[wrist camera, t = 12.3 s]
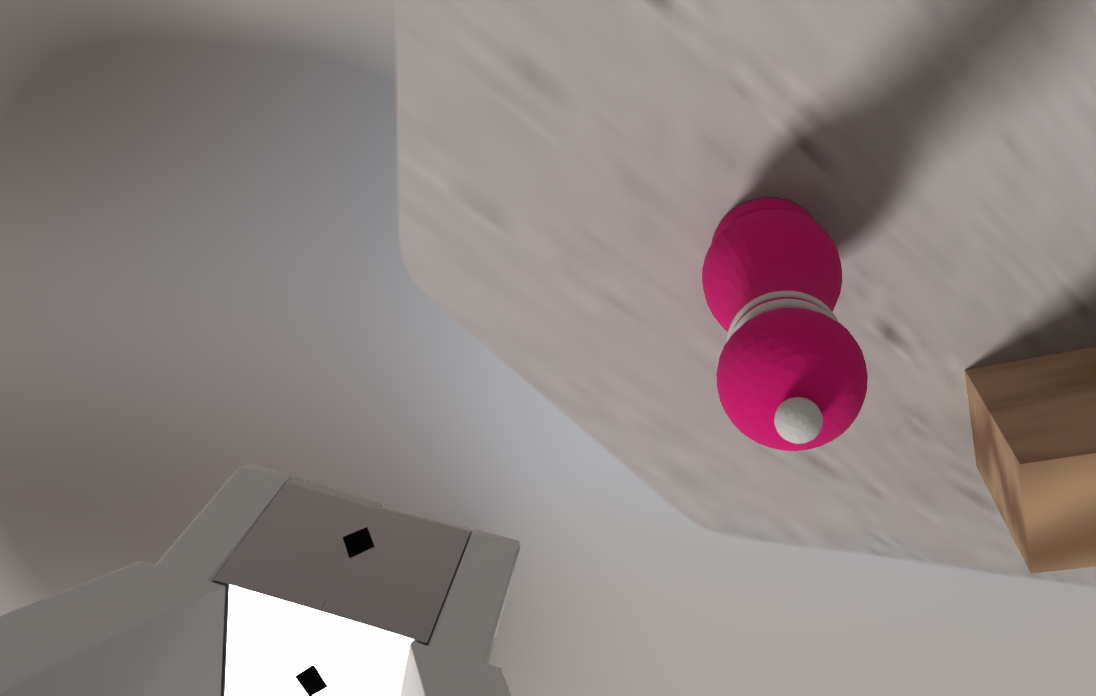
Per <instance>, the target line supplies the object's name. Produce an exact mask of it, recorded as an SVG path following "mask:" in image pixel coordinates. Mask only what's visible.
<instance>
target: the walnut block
mask: <svg viewBox="0 0 1096 696" xmlns="http://www.w3.org/2000/svg"><path fill="white" fill-rule="evenodd" d="M965 376H966V384H967V393H968V401H969V409H970V417H971V425H972V433H973V441H974V449H975V457H976V465H977V468H978V470H979V472H980V474H981V476H982V478H983V480H984V482H985V484H986V486H987V488H988V490H989V492H990V493H991V495H992V497H993V499H994V501H995V503H996V505H997V507H998V509H999V511H1000V513H1001V515H1002V517H1003V519H1004V521H1005V523H1006V525H1007V527H1008V529H1009V531H1010V533H1011V535H1012V537H1013V539H1014V541H1015V543H1016V545H1017V547H1018V549H1019V551H1020V553H1021V555H1022V557H1023V559H1024V561H1025V563H1026V565H1027V567H1028V569H1029V571H1030V573H1039V572H1048V571H1057V570H1065V569H1074V568H1083V567H1092V566H1096V346H1095V347H1090V348H1084V349H1079V350H1073V351H1068V352H1062V353H1056V354H1051V355H1045V356H1040V357H1034V358H1028V359H1023V360H1017V361H1012V362H1006V363H1000V364H995V365H989V366H984V367H978V368H973V369H967V370H965Z"/></svg>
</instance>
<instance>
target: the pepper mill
mask: <svg viewBox="0 0 1096 696" xmlns="http://www.w3.org/2000/svg"><path fill="white" fill-rule="evenodd" d="M702 282H703V289H704V294H705V297H706V301H707V304H708V306H709V308H710V310H711V312H712V314H713V316H714V317H715V318H716V319H717V321H718V322H719V323H720V325H721V326H722V327H723V328H724V329H725V330H726V331H728V334H727V343H726V344H725V346H724V348H723V351H722V353H721V355H720V358H719V364H718V369H717V388H718V393H719V397H720V401H721V403H722V406H723V408H724V410H725V412H726V414H727V415H728V417H729V418H730V420H731V421H732V423H733V424H734V425H735V426H736V427H737V428H738V429H739V430H740V431H741V432H742V433H743V434H744V435H746V436H747V437H749V438H750V439H752V440H754V441H755V442H757V443H759V444H762V445H764V446H767V447H770V448H775V449H780V450H788V451H799V450H808V449H812V448H815V447H819V446H822V445H824V444H826V443H828V442H830V441H832V440H834V439H835V438H837V437H838V436H839V435H841V434H842V433H844V432H845V431H846V430H847V429H848V428H849V427H850V425H851V424H852V423H853V421H854V420H855V419H856V417H857V415H858V413H859V411H860V409H861V407H862V405H863V402H864V399H865V395H866V391H867V377H868V376H867V369H866V364H865V360H864V357H863V353H862V350H861V349H860V347H859V345H858V343H857V342H856V340H855V339H854V338H853V336H852V335H851V334H850V332H849V331H848V330H847V329H846V328H845V327H844V326H843V325H841V324H840V323H839V322H838V320H837V318H836V316H835V315H834V314H833V312H832V311H833V310H834V307H835V305H836V302H837V300H838V297H839V295H840V291H841V285H842V268H841V262H840V258H839V254H838V250H837V248H836V246H835V244H834V242H833V240H832V239H831V237H830V236H829V235H828V234H827V233H826V231H825V230H824V229H823V228H822V227H821V226H820V225H818V224H817V223H816V222H815V221H814V220H813V218H812V217H811V216H810V215H809V214H808V213H807V212H806V211H805V210H804V209H803V208H801V207H800V206H798V205H796V204H795V203H792V202H790V201H787V200H783V199H779V198H760V199H755V200H751V201H748V202H746V203H743V204H741V205H740V206H738V207H736V208H735V209H733V210H732V211H731V212H729V213H728V214H727V215H726V216H725V217H724V218H723V220H722V221H721V222H720V224H719V225H718V227H717V229H716V231H715V233H714V236H713V239H712V244H711V246H710V248H709V250H708V252H707V255H706V257H705V260H704V265H703V271H702Z"/></svg>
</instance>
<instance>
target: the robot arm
mask: <svg viewBox="0 0 1096 696" xmlns="http://www.w3.org/2000/svg"><path fill="white" fill-rule="evenodd" d="M519 550H520V542H519V541H518V540H514V539H510V538H507V537H503V536H499V535H496V534H492V533H488V532H484V531H481V530H477V529H474V530H473V529H470V528H467V527H463V526H460V525H456V524H452V523H449V522H445V521H442V520H438V519H435V518H431V517H428V516H424V515H421V514H417V513H414V512H410V511H407V510H403V509H399V508H396V507H392V506H389V505H385V504H384V505H383V504H381V503H378V502H375V501H372V500H369V499H366V498H362V497H359V496H356V495H353V494H350V493H347V492H343V491H340V490H337V489H334V488H331V487H328V486H324V485H321V484H318V483H315V482H311V481H309V480H305V479H302V478H299V477H296V476H295V477H292V476H289V475H286V474H283V473H280V472H277V471H274V470H270V469H267V468H264V467H261V466H258V465H255V464H252V463H248V464H247V465H245V466H243V467H240V468H239V469H237V470H236V471H235V472H234V473H233V474H232V476H231V477H230V478H229V479H228V480H227V481H226V483H225V484H224V485H223V486H222V487H221V488H220V490H219V491H218V492H217V493H216V494H215V495H214V497H213V498H212V499H211V500H210V501H209V503H208V504H207V505H206V506H205V507H204V508H203V510H202V511H201V512H200V513H199V514H198V515H197V517H196V518H195V519H194V520H193V521H192V522H191V524H190V525H189V526H188V527H187V528H186V529H185V531H184V532H183V533H182V534H181V535H180V536H179V537H178V539H177V540H176V541H175V542H174V543H173V544H172V546H171V547H170V548H169V549H168V550H167V552H166V553H165V554H164V555H163V556H162V557H161V559H160V560H159V561H158V562H157V563H156V564H155V565H153V564H150V563H146V562H143V561H139V562H137V563H134V564H131V565H129V566H126V567H124V568H121V569H119V570H116V571H114V572H111V573H108V574H106V575H103V576H101V577H98V578H96V579H93V580H91V581H89V582H86V583H83V584H81V585H79V586H75V587H73V588H70V589H68V590H65V591H63V592H60V593H58V594H55V595H53V596H50V597H48V598H45V599H42V600H40V601H37V602H35V603H32V604H30V605H27V606H25V607H22V608H20V609H17V610H15V611H12V612H10V613H7V614H4V615H2V616H0V696H511V694H510V691H509V689H508V686H507V684H506V681H505V679H504V676H503V674H502V671H501V668H499V667H496V666H493V665H490V664H489V661H490V657H491V654H492V650H493V646H494V642H495V639H496V635H497V631H498V627H499V624H500V620H501V617H502V613H503V609H504V606H505V602H506V598H507V594H508V591H509V587H510V583H511V580H512V576H513V572H514V569H515V564H516V561H517V557H518V553H519Z"/></svg>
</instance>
